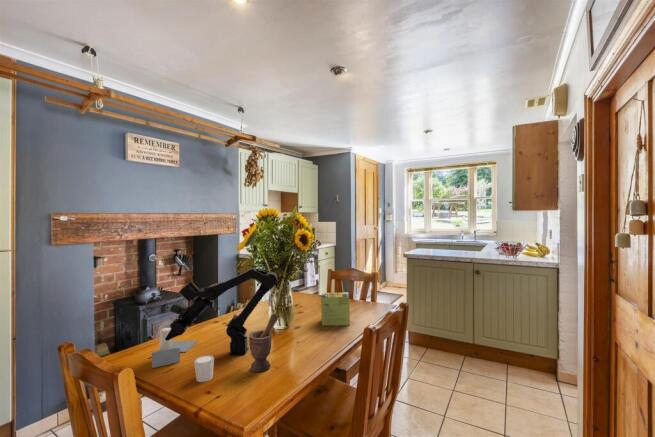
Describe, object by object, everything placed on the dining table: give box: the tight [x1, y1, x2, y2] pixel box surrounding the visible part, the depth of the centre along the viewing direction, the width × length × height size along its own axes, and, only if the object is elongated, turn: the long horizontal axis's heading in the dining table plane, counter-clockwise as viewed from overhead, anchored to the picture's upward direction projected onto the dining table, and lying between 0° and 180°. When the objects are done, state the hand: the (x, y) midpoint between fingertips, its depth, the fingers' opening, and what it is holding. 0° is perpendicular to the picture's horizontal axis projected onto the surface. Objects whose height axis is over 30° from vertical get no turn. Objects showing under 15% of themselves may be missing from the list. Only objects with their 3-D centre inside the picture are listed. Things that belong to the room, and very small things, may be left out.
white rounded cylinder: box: [158, 327, 173, 350], centre depth 133 cm, size 5×5×12 cm
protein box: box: [320, 291, 351, 326], centre depth 173 cm, size 10×15×16 cm
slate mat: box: [172, 340, 199, 354], centre depth 144 cm, size 12×12×1 cm
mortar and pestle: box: [248, 313, 279, 373], centre depth 123 cm, size 12×9×20 cm
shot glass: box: [193, 355, 215, 383], centre depth 115 cm, size 7×7×7 cm
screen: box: [151, 346, 181, 369], centre depth 127 cm, size 10×1×6 cm, turn 118°
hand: (169, 335), depth 133 cm, fingers open, 9 cm apart
